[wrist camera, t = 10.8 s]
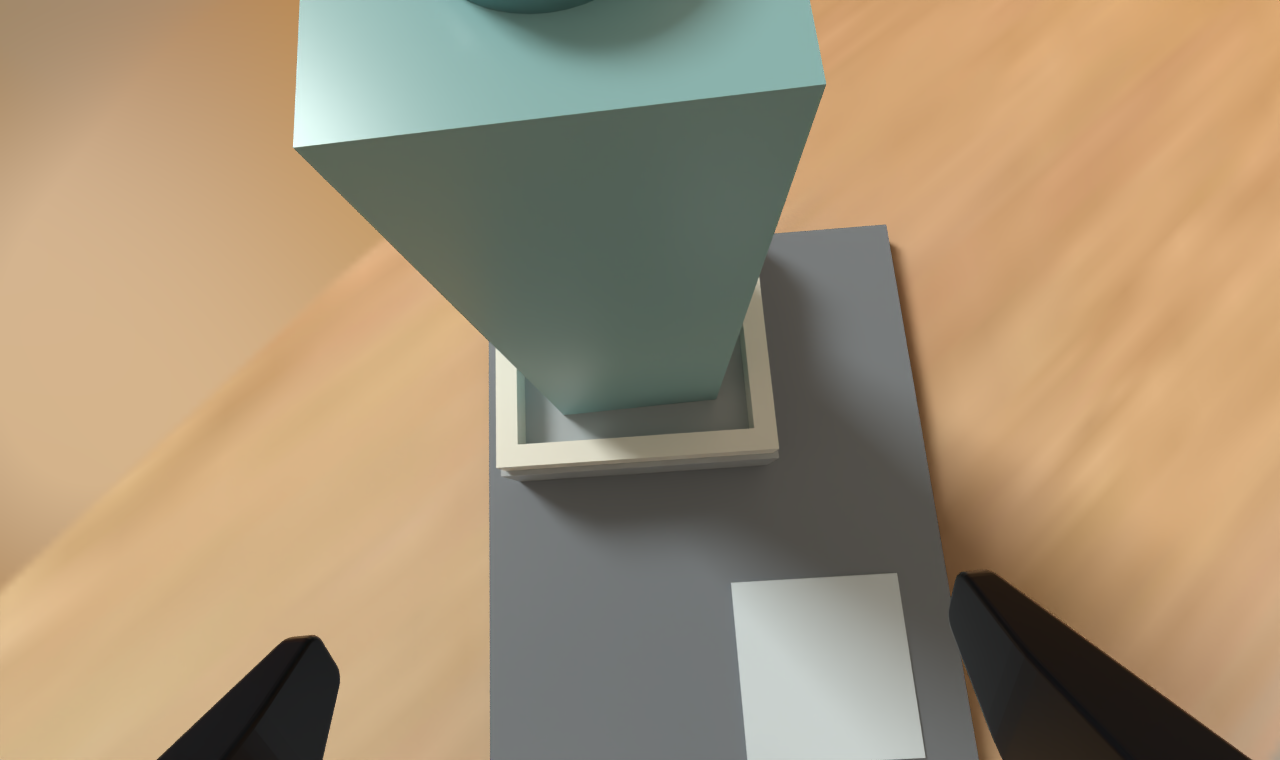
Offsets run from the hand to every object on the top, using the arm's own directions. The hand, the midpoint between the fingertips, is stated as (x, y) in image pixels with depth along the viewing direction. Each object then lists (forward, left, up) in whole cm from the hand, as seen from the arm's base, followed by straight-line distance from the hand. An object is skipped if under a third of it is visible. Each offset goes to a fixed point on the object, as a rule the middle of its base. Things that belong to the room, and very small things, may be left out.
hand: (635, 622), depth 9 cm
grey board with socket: (+2, -2, -11) cm, 12 cm away
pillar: (+7, 0, -8) cm, 11 cm away
